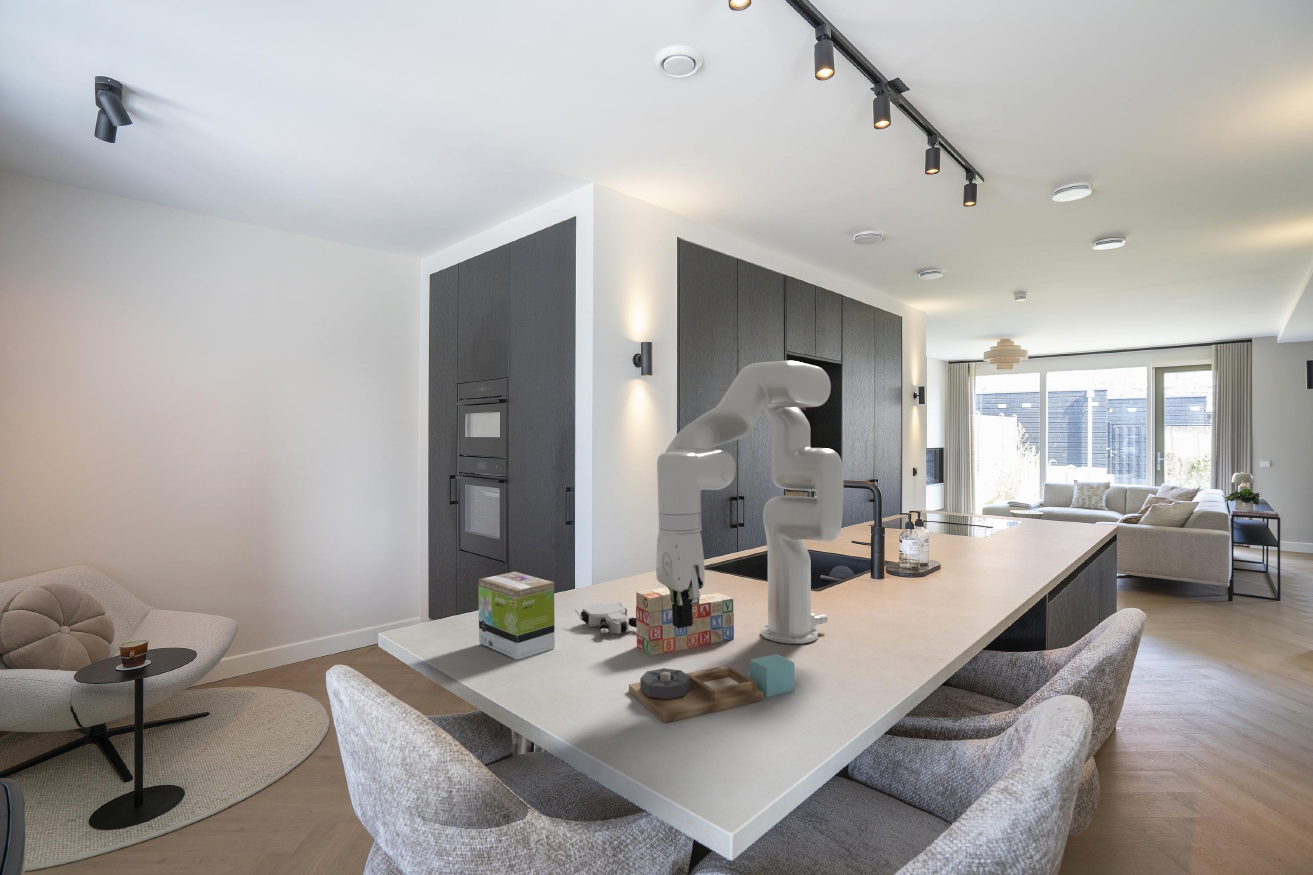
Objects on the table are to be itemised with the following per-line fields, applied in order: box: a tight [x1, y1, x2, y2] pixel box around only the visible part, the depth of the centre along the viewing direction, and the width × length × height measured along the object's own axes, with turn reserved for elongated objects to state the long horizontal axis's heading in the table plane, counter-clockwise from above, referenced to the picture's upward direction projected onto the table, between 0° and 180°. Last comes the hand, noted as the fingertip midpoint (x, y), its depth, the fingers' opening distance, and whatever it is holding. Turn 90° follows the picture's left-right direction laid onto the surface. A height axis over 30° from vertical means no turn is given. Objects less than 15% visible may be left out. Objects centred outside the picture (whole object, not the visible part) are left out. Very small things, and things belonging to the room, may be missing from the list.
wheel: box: [639, 667, 690, 699], centre depth 110 cm, size 8×8×2 cm
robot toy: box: [574, 601, 637, 635], centre depth 150 cm, size 12×4×15 cm
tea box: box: [477, 571, 556, 661], centre depth 137 cm, size 15×10×15 cm, turn 47°
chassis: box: [628, 666, 764, 724], centre depth 111 cm, size 19×14×4 cm
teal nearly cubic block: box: [749, 653, 796, 698], centre depth 114 cm, size 6×5×5 cm
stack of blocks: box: [635, 586, 735, 656], centre depth 139 cm, size 21×6×12 cm, turn 118°
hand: (682, 625), depth 112 cm, fingers closed
